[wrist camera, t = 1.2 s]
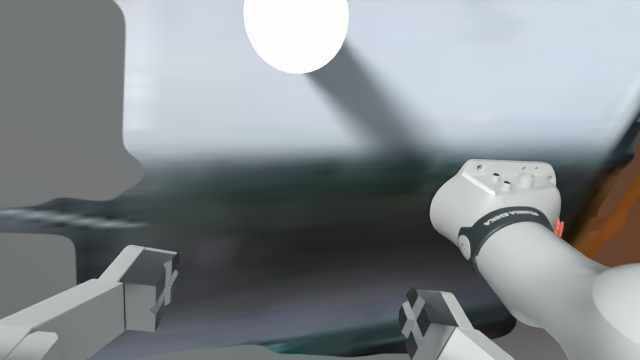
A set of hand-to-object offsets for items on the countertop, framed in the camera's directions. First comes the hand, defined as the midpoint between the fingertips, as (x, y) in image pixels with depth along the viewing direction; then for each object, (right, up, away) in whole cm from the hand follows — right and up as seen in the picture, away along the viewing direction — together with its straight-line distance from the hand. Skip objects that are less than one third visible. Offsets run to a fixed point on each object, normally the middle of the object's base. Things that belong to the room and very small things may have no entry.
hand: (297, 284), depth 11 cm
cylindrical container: (-2, +25, +33) cm, 42 cm away
